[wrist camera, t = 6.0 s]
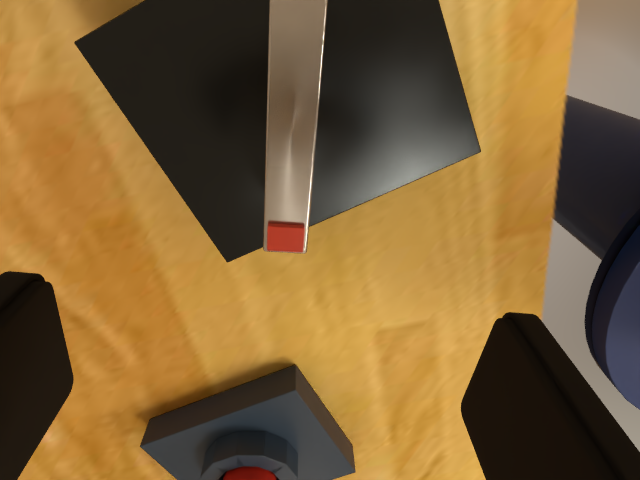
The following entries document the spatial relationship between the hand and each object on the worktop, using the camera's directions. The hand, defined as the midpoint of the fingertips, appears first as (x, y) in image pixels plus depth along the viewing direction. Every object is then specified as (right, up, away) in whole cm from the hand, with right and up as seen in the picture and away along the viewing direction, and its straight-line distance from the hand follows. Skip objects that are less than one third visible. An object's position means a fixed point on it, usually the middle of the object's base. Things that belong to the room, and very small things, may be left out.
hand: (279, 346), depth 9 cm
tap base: (0, +9, +11) cm, 14 cm away
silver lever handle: (0, +8, +8) cm, 11 cm away
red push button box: (-4, -12, +23) cm, 26 cm away
